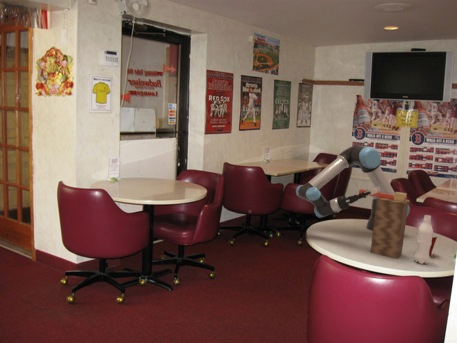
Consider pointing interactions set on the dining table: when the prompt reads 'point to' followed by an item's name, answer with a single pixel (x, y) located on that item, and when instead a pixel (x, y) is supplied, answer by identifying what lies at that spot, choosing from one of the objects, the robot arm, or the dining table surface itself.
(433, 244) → the plastic cup
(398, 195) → the lever
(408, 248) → the dining table surface
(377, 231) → the stand
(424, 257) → the water bottle
